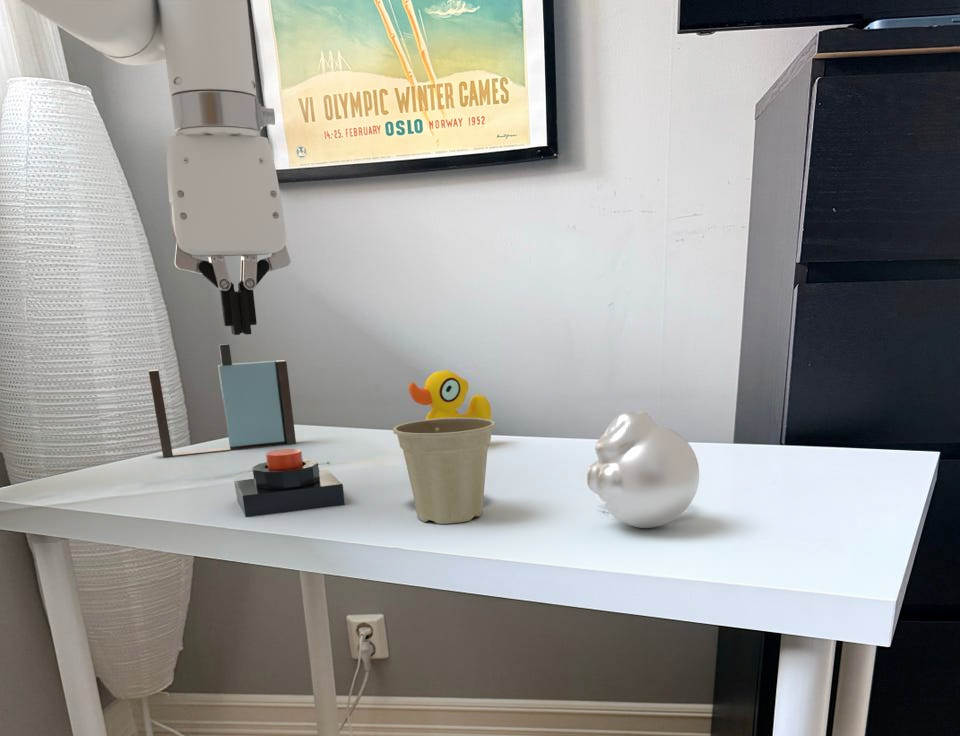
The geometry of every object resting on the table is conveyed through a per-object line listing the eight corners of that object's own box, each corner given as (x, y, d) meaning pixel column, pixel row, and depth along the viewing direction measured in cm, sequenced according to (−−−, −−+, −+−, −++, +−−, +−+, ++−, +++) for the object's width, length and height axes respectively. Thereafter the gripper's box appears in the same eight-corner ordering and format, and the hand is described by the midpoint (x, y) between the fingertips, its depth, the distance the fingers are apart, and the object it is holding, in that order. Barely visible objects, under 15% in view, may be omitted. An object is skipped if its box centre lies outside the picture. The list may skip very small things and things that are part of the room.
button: (270, 474, 93) (268, 456, 93) (265, 468, 96) (263, 451, 96) (306, 470, 94) (304, 452, 94) (300, 464, 97) (298, 447, 97)
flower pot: (382, 516, 90) (374, 425, 86) (464, 500, 94) (460, 413, 91) (432, 535, 82) (425, 437, 79) (518, 517, 87) (515, 423, 84)
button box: (245, 517, 92) (239, 477, 90) (237, 501, 99) (231, 463, 97) (345, 505, 95) (341, 466, 93) (329, 490, 102) (326, 453, 100)
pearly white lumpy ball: (606, 510, 87) (606, 402, 84) (706, 517, 84) (711, 403, 80) (574, 535, 80) (572, 418, 76) (683, 543, 76) (687, 420, 72)
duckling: (423, 456, 118) (417, 375, 114) (405, 451, 122) (399, 372, 118) (500, 445, 123) (497, 367, 119) (480, 440, 127) (477, 365, 123)
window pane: (231, 447, 121) (216, 345, 116) (230, 445, 122) (215, 344, 117) (284, 441, 123) (272, 341, 118) (283, 440, 124) (271, 341, 119)
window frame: (165, 468, 119) (148, 371, 114) (164, 465, 121) (148, 370, 116) (297, 454, 124) (286, 360, 119) (295, 451, 126) (284, 359, 121)
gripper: (293, 129, 90) (310, 328, 96) (129, 126, 85) (160, 335, 92) (306, 116, 83) (324, 332, 90) (130, 112, 79) (163, 339, 85)
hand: (241, 333), depth 91 cm, fingers closed
